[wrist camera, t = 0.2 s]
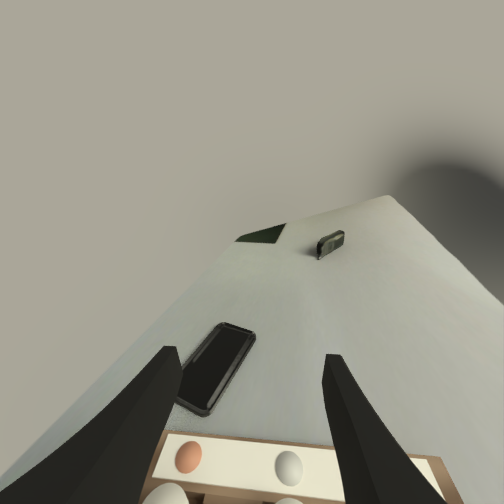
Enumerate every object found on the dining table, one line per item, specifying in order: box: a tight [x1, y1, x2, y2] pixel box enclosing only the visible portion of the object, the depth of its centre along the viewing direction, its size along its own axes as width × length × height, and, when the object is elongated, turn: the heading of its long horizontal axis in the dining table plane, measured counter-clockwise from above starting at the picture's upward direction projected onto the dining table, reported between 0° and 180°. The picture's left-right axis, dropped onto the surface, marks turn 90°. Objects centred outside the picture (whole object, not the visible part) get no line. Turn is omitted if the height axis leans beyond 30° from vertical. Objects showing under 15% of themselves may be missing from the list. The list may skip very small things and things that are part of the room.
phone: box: [175, 322, 256, 417], centre depth 36 cm, size 8×1×15 cm
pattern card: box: [152, 434, 445, 502], centre depth 22 cm, size 4×26×1 cm, turn 84°
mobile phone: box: [317, 230, 344, 260], centre depth 69 cm, size 5×3×15 cm
